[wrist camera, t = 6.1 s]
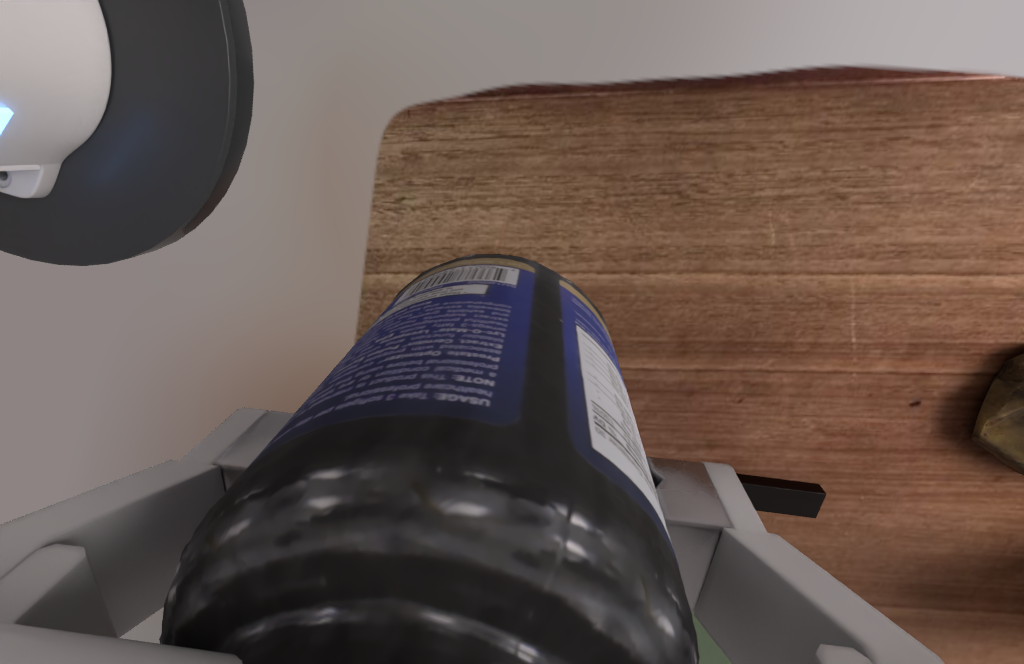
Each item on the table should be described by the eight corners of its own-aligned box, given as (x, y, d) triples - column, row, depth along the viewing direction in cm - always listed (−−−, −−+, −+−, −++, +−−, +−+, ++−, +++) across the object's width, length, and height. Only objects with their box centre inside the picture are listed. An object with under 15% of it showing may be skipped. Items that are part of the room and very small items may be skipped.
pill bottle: (361, 410, 14) (-162, 1191, 4) (419, 208, 11) (-614, 863, 1) (560, 482, 14) (580, 1353, 4) (657, 301, 12) (1261, 1317, 2)
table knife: (546, 473, 36) (546, 483, 35) (550, 449, 35) (550, 458, 34) (809, 508, 35) (816, 518, 34) (819, 484, 34) (826, 494, 33)
